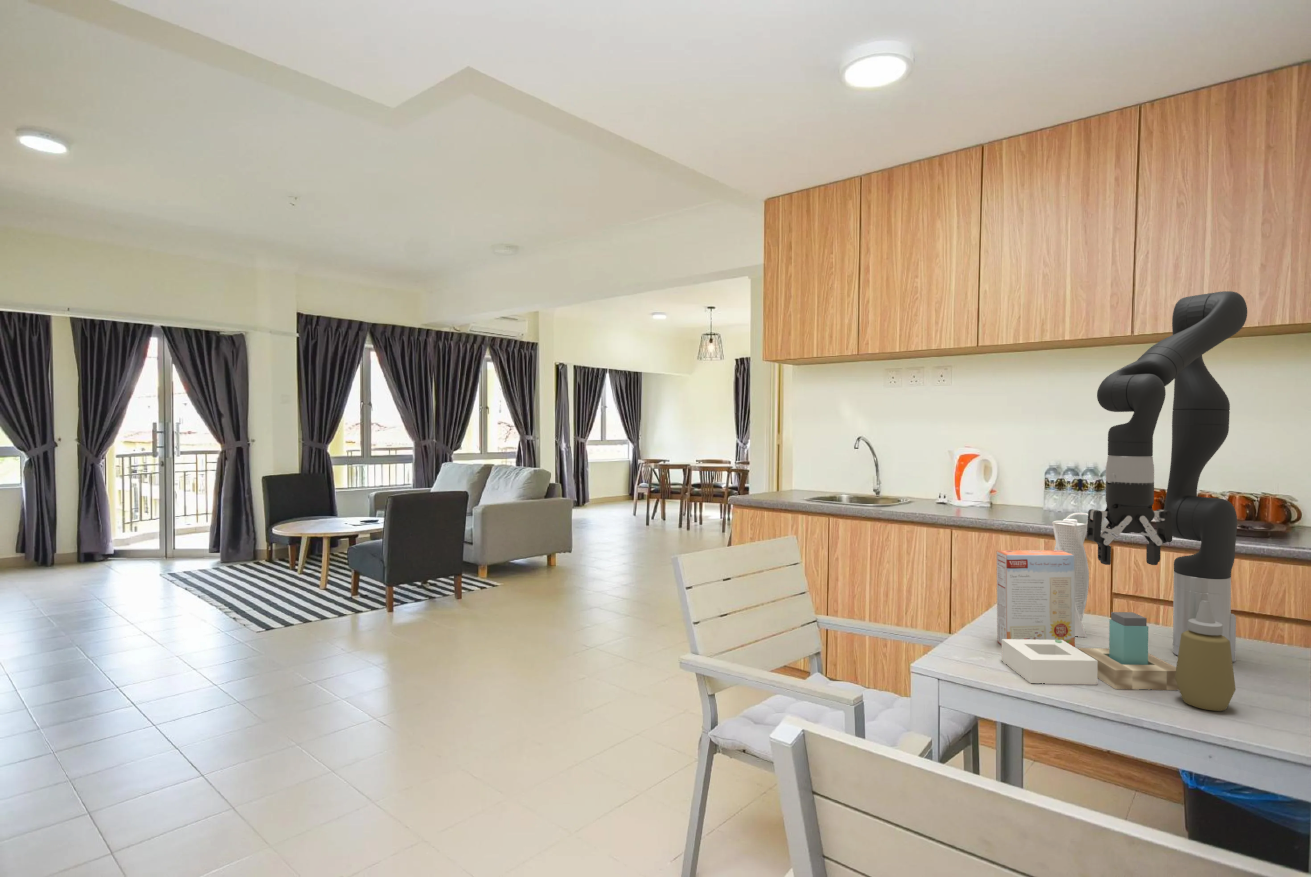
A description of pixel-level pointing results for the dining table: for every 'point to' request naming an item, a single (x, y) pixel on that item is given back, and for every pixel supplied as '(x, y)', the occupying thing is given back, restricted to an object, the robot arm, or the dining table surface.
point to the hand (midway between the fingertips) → (1128, 564)
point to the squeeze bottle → (1205, 663)
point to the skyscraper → (1075, 562)
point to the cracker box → (1035, 595)
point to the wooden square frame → (1133, 672)
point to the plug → (1128, 638)
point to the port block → (1049, 661)
